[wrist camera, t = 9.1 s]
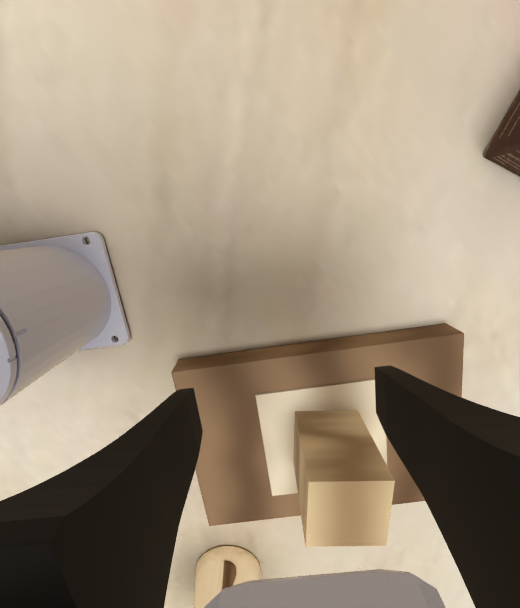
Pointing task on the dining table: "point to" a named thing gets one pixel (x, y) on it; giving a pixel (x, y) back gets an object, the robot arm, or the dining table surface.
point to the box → (507, 140)
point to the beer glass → (223, 572)
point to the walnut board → (299, 397)
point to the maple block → (340, 480)
